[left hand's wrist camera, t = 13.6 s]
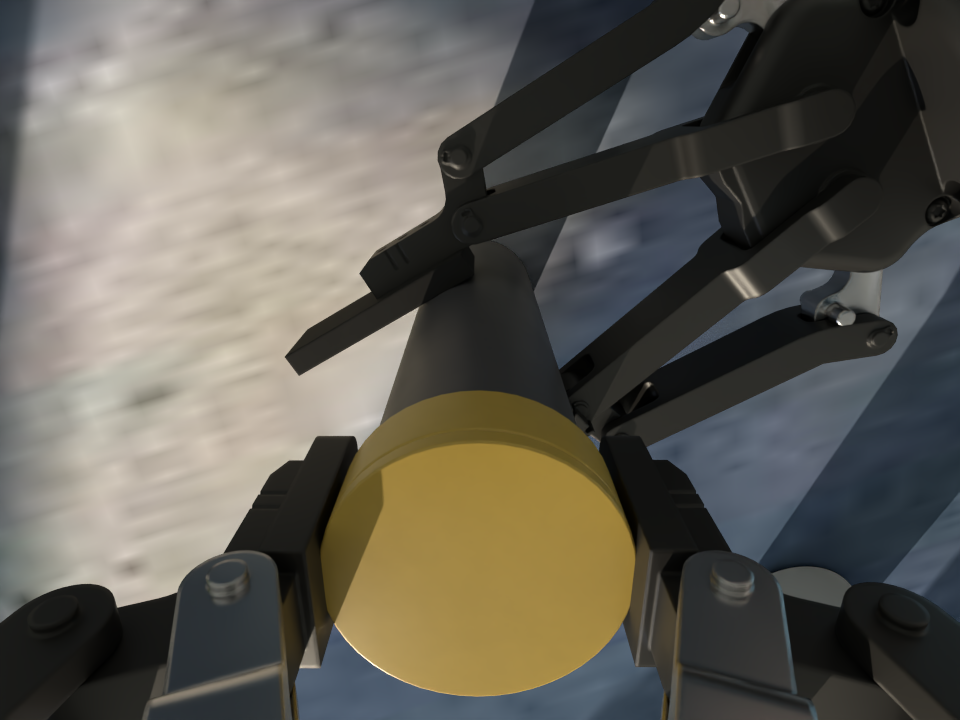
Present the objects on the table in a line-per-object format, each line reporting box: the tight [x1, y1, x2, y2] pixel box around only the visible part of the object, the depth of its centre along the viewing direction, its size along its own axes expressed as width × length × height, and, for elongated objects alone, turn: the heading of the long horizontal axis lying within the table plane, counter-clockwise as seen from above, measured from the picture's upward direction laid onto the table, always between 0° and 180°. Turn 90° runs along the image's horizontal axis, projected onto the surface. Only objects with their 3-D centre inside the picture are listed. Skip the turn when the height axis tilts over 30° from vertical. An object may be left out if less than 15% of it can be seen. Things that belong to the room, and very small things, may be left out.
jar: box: [380, 241, 577, 426], centre depth 18 cm, size 4×4×17 cm
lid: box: [320, 390, 636, 696], centre depth 10 cm, size 5×5×2 cm
